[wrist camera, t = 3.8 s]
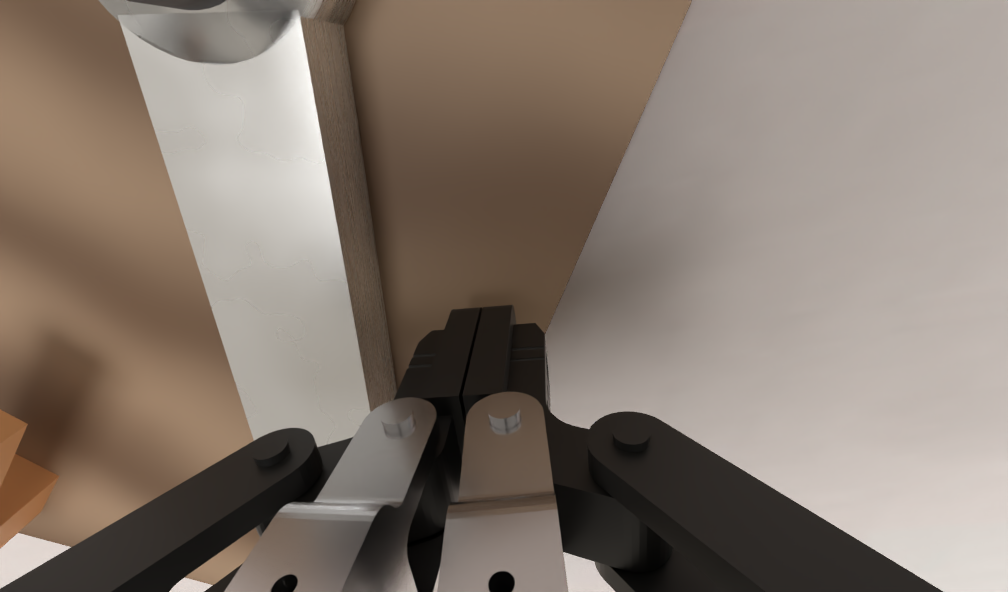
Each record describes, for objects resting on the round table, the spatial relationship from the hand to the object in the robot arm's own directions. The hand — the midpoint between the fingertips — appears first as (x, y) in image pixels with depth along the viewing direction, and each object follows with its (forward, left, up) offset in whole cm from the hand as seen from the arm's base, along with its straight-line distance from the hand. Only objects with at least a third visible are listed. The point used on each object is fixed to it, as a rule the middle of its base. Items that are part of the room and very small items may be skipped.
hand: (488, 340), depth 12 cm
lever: (0, -5, -1) cm, 5 cm away
